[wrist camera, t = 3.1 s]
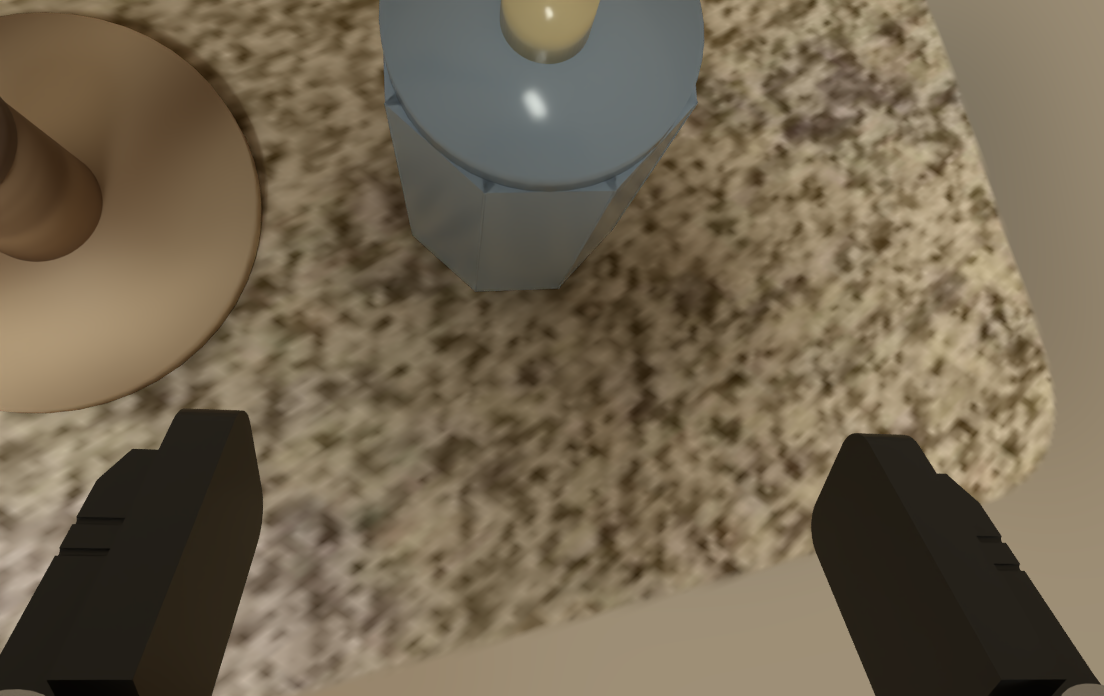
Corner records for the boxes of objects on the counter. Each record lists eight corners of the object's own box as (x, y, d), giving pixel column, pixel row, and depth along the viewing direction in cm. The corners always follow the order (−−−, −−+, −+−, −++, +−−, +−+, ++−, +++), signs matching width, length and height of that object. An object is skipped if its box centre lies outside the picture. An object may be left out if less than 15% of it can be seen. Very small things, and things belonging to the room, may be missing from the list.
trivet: (-263, 219, 22) (-290, 211, 21) (60, -47, 24) (47, -64, 23) (47, 499, 22) (31, 501, 21) (343, 207, 24) (340, 199, 23)
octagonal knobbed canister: (367, 196, 24) (292, -21, 13) (504, 61, 25) (538, -241, 14) (519, 331, 24) (568, 227, 13) (648, 190, 25) (793, -13, 14)
